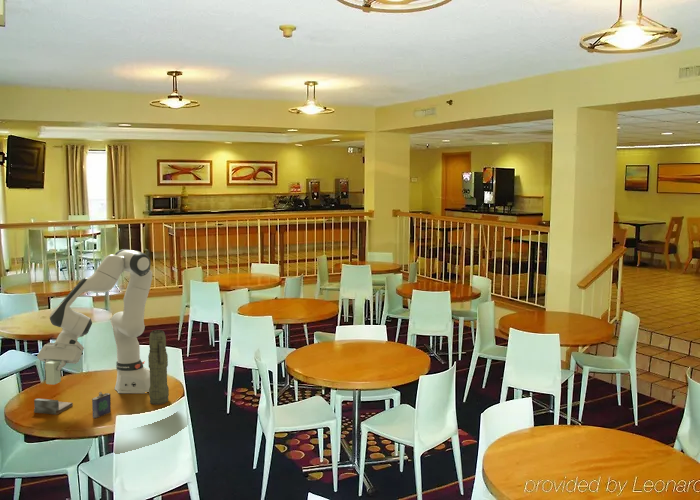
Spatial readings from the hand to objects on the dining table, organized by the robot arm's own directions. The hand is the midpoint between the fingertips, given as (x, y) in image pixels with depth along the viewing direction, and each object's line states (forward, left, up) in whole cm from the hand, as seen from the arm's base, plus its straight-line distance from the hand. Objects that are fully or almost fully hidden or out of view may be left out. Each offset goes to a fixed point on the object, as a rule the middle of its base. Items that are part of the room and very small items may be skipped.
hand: (52, 369), depth 273 cm
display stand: (0, 0, -19) cm, 19 cm away
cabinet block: (0, -1, -6) cm, 6 cm away
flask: (-26, +2, -19) cm, 32 cm away
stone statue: (-43, -19, -19) cm, 51 cm away
